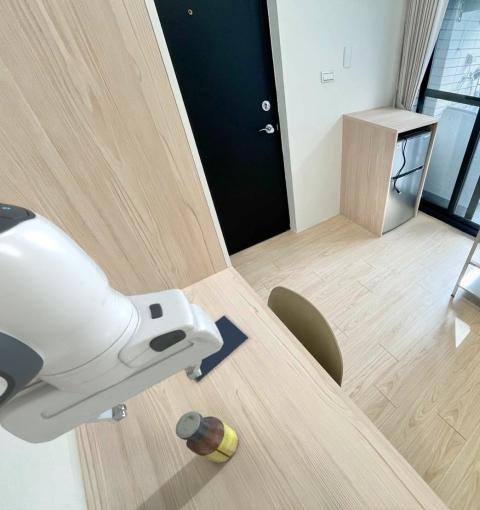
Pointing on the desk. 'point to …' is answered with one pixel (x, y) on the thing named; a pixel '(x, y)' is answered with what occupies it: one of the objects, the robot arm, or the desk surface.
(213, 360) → the cloth
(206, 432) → the sauce bottle
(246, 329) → the desk surface
